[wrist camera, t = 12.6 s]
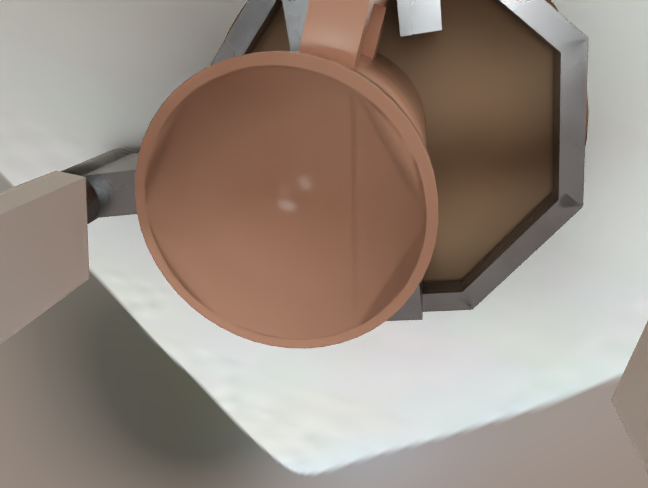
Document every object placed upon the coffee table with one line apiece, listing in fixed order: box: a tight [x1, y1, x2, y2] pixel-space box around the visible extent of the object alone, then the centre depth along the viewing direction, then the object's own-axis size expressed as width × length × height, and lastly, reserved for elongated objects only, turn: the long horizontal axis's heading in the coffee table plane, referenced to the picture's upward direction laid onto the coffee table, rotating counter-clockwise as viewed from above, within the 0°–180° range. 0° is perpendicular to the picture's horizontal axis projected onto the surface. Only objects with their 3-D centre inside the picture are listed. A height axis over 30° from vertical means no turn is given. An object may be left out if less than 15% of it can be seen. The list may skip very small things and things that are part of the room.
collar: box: [61, 0, 588, 321], centre depth 23 cm, size 24×17×6 cm
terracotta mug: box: [135, 0, 438, 348], centre depth 19 cm, size 9×11×12 cm
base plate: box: [224, 0, 588, 283], centre depth 26 cm, size 18×18×1 cm
